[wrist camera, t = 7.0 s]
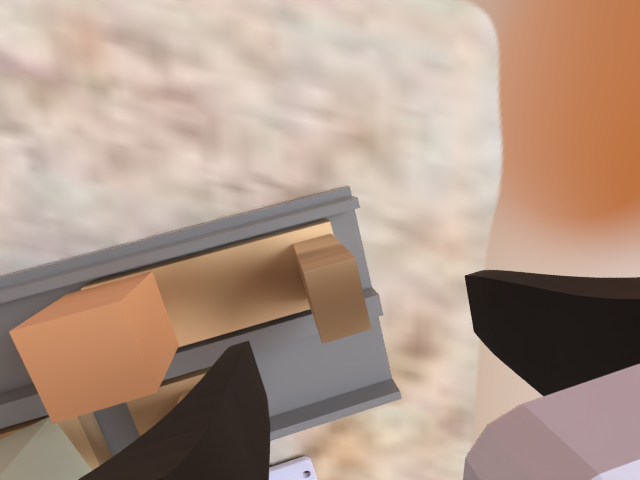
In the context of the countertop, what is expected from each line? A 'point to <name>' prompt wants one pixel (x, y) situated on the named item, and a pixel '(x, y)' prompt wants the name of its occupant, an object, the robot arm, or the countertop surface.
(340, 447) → the countertop surface
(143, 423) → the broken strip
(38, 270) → the lane board
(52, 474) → the sage block
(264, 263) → the oak strip
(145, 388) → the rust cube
